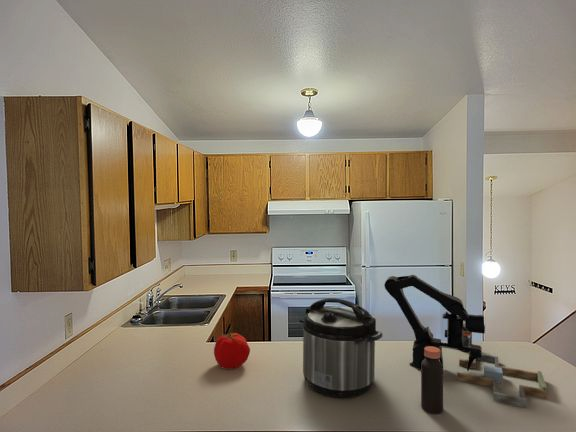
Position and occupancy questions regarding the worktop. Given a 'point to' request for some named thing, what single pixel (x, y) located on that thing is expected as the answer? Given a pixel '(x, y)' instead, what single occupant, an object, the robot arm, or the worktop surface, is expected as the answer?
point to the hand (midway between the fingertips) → (454, 368)
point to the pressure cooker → (339, 348)
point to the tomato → (231, 351)
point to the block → (493, 373)
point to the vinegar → (432, 381)
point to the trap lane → (507, 371)
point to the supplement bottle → (467, 337)
